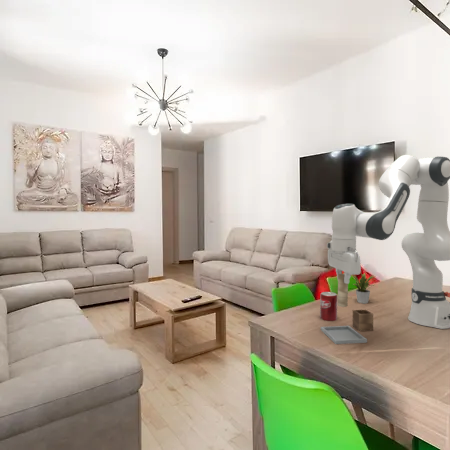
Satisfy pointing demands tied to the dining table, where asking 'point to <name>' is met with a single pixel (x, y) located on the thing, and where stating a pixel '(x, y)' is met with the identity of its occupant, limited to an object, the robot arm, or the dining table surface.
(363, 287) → the house plant
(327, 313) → the soda can
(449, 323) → the robot arm
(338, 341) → the tray
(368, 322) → the brown wooden box
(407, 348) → the dining table surface
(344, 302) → the dowel
